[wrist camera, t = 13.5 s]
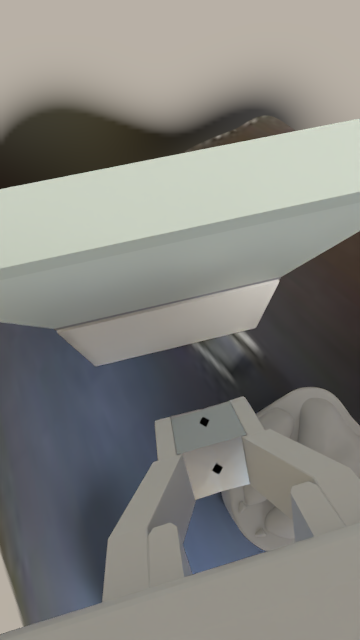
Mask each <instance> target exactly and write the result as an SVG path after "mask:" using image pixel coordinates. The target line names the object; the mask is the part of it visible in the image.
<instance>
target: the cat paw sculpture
mask: <svg viewBox="0 0 360 640" xmlns="http://www.w3.org/2000/svg"><path fill="white" fill-rule="evenodd" d="M256 416H257V417H258V419H259V421H260V422H261V424H262V425H263V427H264V429H265V430H268V429H271V430H273V431H275V432H277V433H279V434H281V435H284V436H286V437H288V438H290V439H292V440H294V441H296V442H298V443H300V444H302V445H304V446H306V447H308V448H310V449H312V450H314V451H316V452H318V453H321V454H323V455H325V456H327V457H329V458H331V459H333V460H335V461H337V462H339V463H341V464H343V465H345V466H347V467H349V468H351V470H352V471H353V472H354V473H355V474H356V475H357V477H358V478H359V479H360V425H359V424H358V423H357V422H356V421H355V420H354V419H353V418H352V417H351V415H350V414H349V413H348V411H347V410H346V408H345V407H344V405H343V404H342V403H341V402H340V401H339V399H338V398H337V397H336V396H335V395H333V394H332V393H331V392H329V391H327V390H325V389H322V388H317V387H303V388H299V389H296V390H293V391H291V392H289V393H288V394H286V395H285V396H283V397H281V398H280V399H278V400H277V401H275V402H273V403H272V404H270V405H269V406H267V407H266V408H264V409H263V410H261V411H259V412H258V413H257V414H256ZM221 492H222V498H223V501H224V504H225V506H226V508H227V510H228V512H229V513H230V515H231V517H232V518H233V520H234V521H235V523H236V524H237V526H238V528H239V529H240V531H241V532H242V533H243V535H244V536H245V537H246V538H247V539H248V540H249V541H251V542H252V543H253V544H254V545H255V546H257V547H259V548H261V549H262V550H265V551H270V550H273V549H276V548H280V547H283V546H286V545H289V544H292V543H295V536H294V525H293V520H291V519H290V518H289V517H288V516H287V515H285V514H284V513H283V512H282V511H281V510H279V509H278V508H277V507H276V506H275V505H273V504H272V503H271V502H270V501H269V500H267V499H266V498H265V497H264V496H263V495H262V494H260V493H259V492H258V491H257V490H256V489H254V488H253V487H252V486H251V485H250V484H248V485H244V486H240V487H236V488H233V489H229V490H225V491H221Z"/></svg>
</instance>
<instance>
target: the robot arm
mask: <svg viewBox="0 0 360 640" xmlns="http://www.w3.org/2000/svg"><path fill="white" fill-rule="evenodd" d="M155 433H156V445H157V456H158V461H155V462H153V463H152V465H151V467H150V468H149V470H148V472H147V473H146V475H145V477H144V479H143V480H142V482H141V484H140V485H139V487H138V489H137V491H136V492H135V494H134V496H133V497H132V499H131V501H130V502H129V504H128V506H127V508H126V509H125V511H124V513H123V514H122V516H121V518H120V520H119V521H118V523H117V525H116V526H115V528H114V530H113V532H112V533H111V535H110V537H109V538H108V545H107V555H106V566H105V577H104V588H103V598H102V603H99V604H96V605H93V606H89V607H86V608H83V609H80V610H77V611H73V612H70V613H67V614H64V615H60V616H57V617H54V618H51V619H48V620H44V621H41V622H38V623H35V624H31V625H28V626H25V627H22V628H19V629H16V630H12V631H9V632H6V633H3V634H0V640H360V479H359V478H358V477H357V475H356V474H355V473H354V472H353V471H352V470H351V468H349V467H347V466H345V465H343V464H341V463H339V462H337V461H335V460H333V459H331V458H329V457H327V456H325V455H323V454H321V453H318V452H316V451H314V450H312V449H310V448H308V447H306V446H304V445H302V444H300V443H298V442H296V441H294V440H292V439H290V438H288V437H286V436H284V435H281V434H279V433H277V432H275V431H273V430H271V429H268V430H265V429H264V427H263V425H262V424H261V422H260V421H259V419H258V417H257V416H256V414H255V412H254V411H253V409H252V407H251V406H250V404H249V403H248V401H247V399H246V398H245V397H244V396H243V397H239V398H236V399H233V400H229V401H227V402H224V403H220V404H217V405H213V406H210V407H206V408H202V409H198V410H194V411H190V412H186V413H182V414H178V415H174V416H171V417H167V418H163V419H160V420H156V421H155ZM248 484H250V485H251V486H252V487H253V488H254V489H256V490H257V491H258V492H259V493H260V494H262V495H263V496H264V497H265V498H266V499H267V500H269V501H270V502H271V503H272V504H273V505H275V506H276V507H277V508H278V509H279V510H281V511H282V512H283V513H284V514H285V515H287V516H288V517H289V518H290V519H291V520H293V525H294V536H295V543H292V544H289V545H286V546H283V547H280V548H276V549H273V550H270V551H267V552H264V553H260V554H257V555H254V556H251V557H248V558H244V559H241V560H238V561H235V562H232V563H228V564H225V565H222V566H219V567H215V568H212V569H209V570H206V571H202V572H199V573H196V574H192V571H191V568H190V565H189V562H188V559H187V556H186V553H185V550H184V547H183V542H184V539H185V536H186V532H187V529H188V526H189V522H190V519H191V516H192V512H193V509H194V506H195V500H197V499H200V498H203V497H206V496H209V495H212V494H215V493H218V492H221V491H225V490H229V489H233V488H236V487H240V486H244V485H248Z"/></svg>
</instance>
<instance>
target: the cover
mask: <svg viewBox="0 0 360 640" xmlns="http://www.w3.org/2000/svg"><path fill="white" fill-rule="evenodd" d="M359 231H360V119H355V120H350V121H345V122H340V123H335V124H330V125H325V126H320V127H315V128H310V129H304V130H300V131H294V132H289V133H284V134H279V135H274V136H269V137H264V138H259V139H254V140H249V141H243V142H238V143H233V144H228V145H223V146H218V147H213V148H208V149H203V150H198V151H193V152H187V153H182V154H177V155H172V156H168V157H162V158H157V159H152V160H147V161H142V162H137V163H132V164H126V165H122V166H117V167H111V168H106V169H101V170H96V171H91V172H86V173H81V174H76V175H71V176H66V177H60V178H55V179H50V180H45V181H40V182H35V183H30V184H25V185H20V186H15V187H10V188H5V189H0V322H3V323H11V324H19V325H27V326H35V327H43V328H51V329H56V328H60V327H64V326H69V325H73V324H77V323H82V322H86V321H91V320H95V319H99V318H104V317H108V316H112V315H117V314H121V313H125V312H130V311H134V310H138V309H143V308H147V307H151V306H156V305H160V304H165V303H169V302H173V301H178V300H182V299H186V298H191V297H195V296H199V295H204V294H208V293H212V292H217V291H221V290H225V289H230V288H234V287H238V286H243V285H247V284H252V283H256V282H260V281H265V280H269V279H273V278H278V277H282V276H283V275H285V274H287V273H289V272H290V271H292V270H294V269H295V268H297V267H299V266H301V265H302V264H304V263H306V262H307V261H309V260H311V259H313V258H314V257H316V256H318V255H319V254H321V253H323V252H324V251H326V250H328V249H330V248H331V247H333V246H335V245H336V244H338V243H340V242H342V241H343V240H345V239H347V238H348V237H350V236H352V235H354V234H355V233H357V232H359Z"/></svg>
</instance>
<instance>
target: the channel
mask: <svg viewBox="0 0 360 640" xmlns="http://www.w3.org/2000/svg"><path fill="white" fill-rule="evenodd" d="M280 278H281V277H278V278H273V279H269V280H265V281H260V282H256V283H252V284H247V285H243V286H238V287H234V288H230V289H225V290H221V291H217V292H212V293H208V294H204V295H199V296H195V297H191V298H186V299H182V300H178V301H173V302H169V303H165V304H160V305H156V306H151V307H147V308H143V309H138V310H134V311H130V312H125V313H121V314H117V315H112V316H108V317H104V318H99V319H95V320H91V321H86V322H82V323H77V324H73V325H69V326H64V327H60V328H56V329H54V330H55V331H56V330H57V333H58V334H59V335H60V336H61V337H62V338H64V339H65V340H66V341H67V342H68V343H69V344H70V345H72V346H73V347H74V348H75V349H76V350H77V351H78V352H79V353H81V354H82V355H83V356H84V357H85V358H86V359H87V360H89V361H90V362H91V363H92V364H93V365H94V366H95V367H96V366H100V365H104V364H109V363H113V362H117V361H121V360H125V359H129V358H134V357H138V356H142V355H146V354H150V353H154V352H159V351H163V350H167V349H171V348H175V347H179V346H183V345H188V344H192V343H196V342H200V341H204V340H208V339H213V338H217V337H221V336H225V335H229V334H233V333H238V332H242V331H246V330H250V329H254V328H256V327H257V325H258V323H259V321H260V319H261V317H262V315H263V313H264V311H265V309H266V307H267V305H268V303H269V301H270V299H271V297H272V295H273V293H274V291H275V289H276V287H277V285H278V283H279V280H278V279H280Z"/></svg>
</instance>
